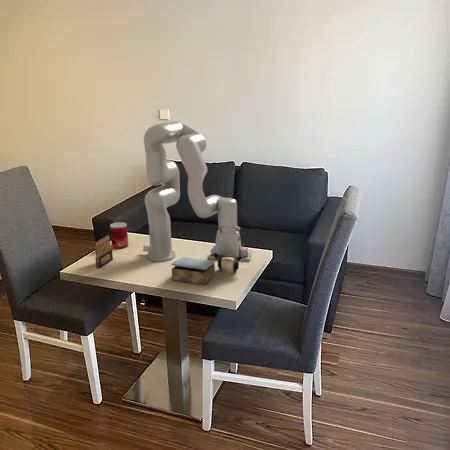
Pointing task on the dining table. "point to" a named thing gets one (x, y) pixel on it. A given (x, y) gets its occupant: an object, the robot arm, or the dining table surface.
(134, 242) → the dining table surface
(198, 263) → the lid
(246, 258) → the packaged product
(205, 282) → the crate
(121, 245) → the canned food
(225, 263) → the cream bottle with knob
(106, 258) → the ammunition clip
